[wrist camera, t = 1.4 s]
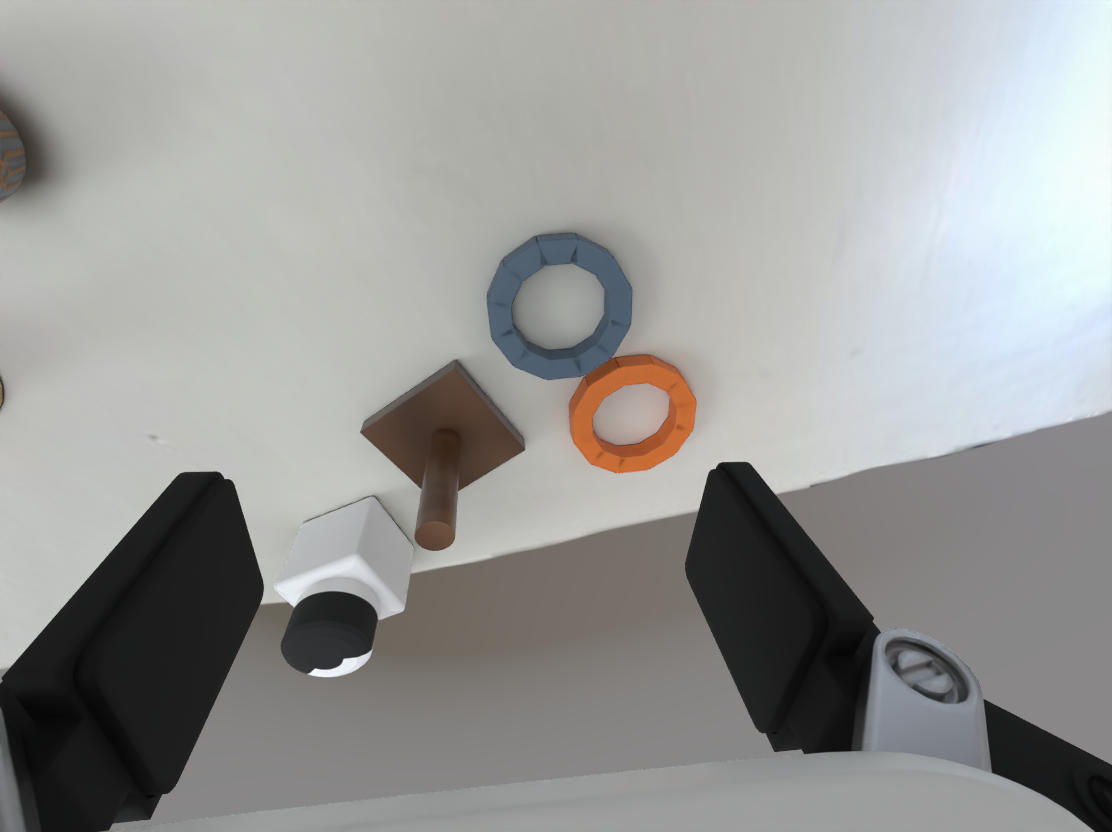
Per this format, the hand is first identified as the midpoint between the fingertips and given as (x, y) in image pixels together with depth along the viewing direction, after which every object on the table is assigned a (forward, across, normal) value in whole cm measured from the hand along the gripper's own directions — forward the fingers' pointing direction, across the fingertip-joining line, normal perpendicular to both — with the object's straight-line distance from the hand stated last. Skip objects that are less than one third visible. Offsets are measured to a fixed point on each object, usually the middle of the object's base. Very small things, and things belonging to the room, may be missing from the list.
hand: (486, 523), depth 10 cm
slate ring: (+28, -5, +4) cm, 28 cm away
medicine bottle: (+28, +11, +25) cm, 40 cm away
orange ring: (+28, -12, +13) cm, 33 cm away
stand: (+28, +3, +14) cm, 31 cm away
